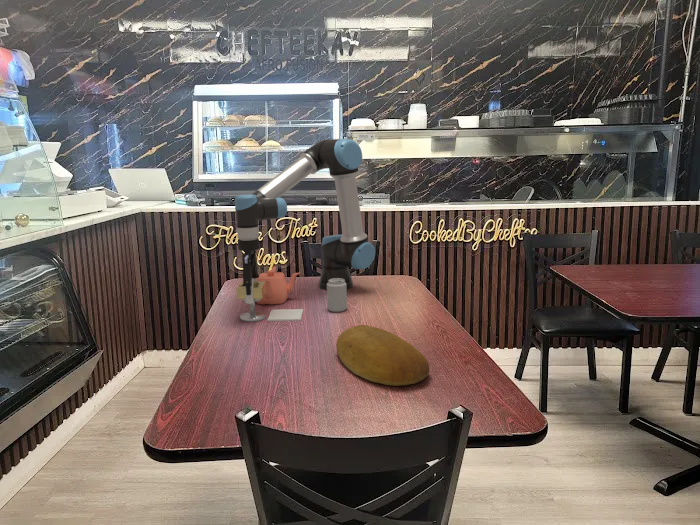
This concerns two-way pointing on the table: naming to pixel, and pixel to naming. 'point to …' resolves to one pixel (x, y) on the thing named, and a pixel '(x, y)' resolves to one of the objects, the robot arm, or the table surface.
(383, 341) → the bread
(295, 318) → the mat
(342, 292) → the can
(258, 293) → the link
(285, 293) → the pot
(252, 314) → the stand
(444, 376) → the table surface
